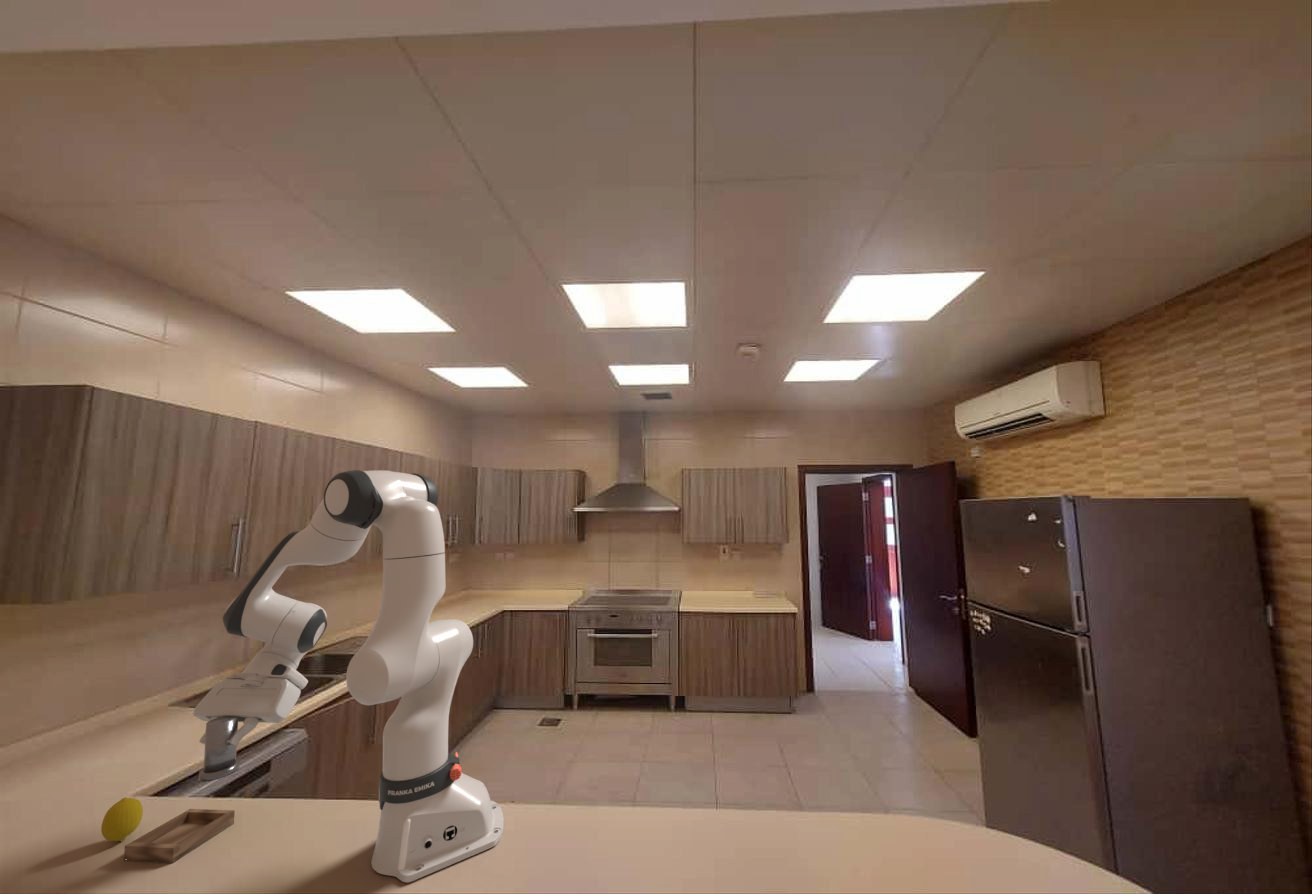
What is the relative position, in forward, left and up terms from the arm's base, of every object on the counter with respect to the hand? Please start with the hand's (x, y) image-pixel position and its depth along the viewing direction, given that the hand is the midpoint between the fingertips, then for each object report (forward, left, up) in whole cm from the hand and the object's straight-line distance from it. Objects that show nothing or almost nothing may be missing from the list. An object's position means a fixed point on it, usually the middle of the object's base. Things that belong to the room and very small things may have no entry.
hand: (217, 743), depth 95 cm
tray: (+6, -4, -18) cm, 20 cm away
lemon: (+18, -10, -18) cm, 28 cm away
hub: (0, -1, -6) cm, 6 cm away
